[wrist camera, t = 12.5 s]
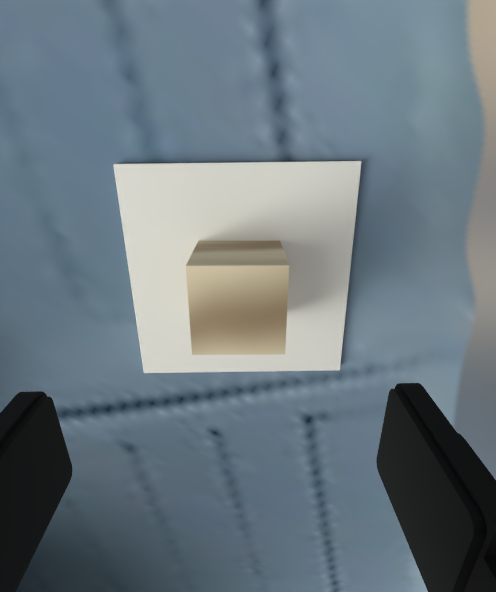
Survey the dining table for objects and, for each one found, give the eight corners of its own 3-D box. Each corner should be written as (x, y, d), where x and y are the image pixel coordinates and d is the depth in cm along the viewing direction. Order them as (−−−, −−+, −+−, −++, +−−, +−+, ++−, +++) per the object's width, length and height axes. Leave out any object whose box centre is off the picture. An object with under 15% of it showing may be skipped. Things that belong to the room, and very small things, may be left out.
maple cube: (198, 240, 22) (185, 265, 17) (279, 240, 22) (289, 265, 17) (202, 314, 24) (191, 354, 19) (277, 314, 24) (285, 354, 19)
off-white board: (116, 163, 21) (113, 164, 20) (358, 160, 21) (361, 161, 20) (146, 368, 26) (143, 373, 25) (337, 365, 26) (339, 370, 26)
